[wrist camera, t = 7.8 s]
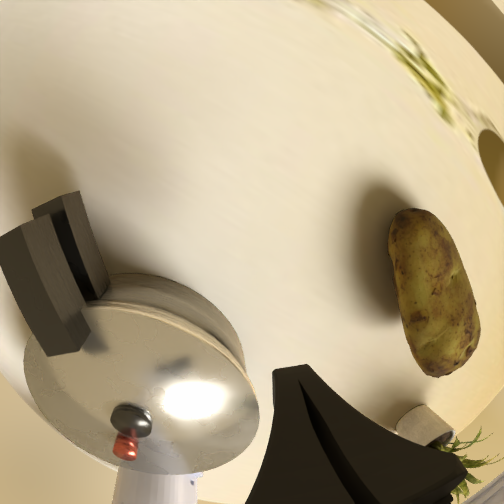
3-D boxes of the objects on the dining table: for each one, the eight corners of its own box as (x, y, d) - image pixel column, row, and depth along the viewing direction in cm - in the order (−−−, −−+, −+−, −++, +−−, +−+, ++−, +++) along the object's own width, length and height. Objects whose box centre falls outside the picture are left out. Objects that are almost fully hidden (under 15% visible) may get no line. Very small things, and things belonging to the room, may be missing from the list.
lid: (280, 450, 19) (286, 475, 17) (106, 469, 19) (102, 490, 16) (175, 161, 12) (164, 161, 10) (-37, 263, 12) (-60, 277, 9)
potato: (449, 199, 20) (520, 220, 13) (432, 328, 24) (480, 372, 17) (373, 204, 19) (447, 231, 12) (363, 349, 23) (406, 409, 16)
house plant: (472, 376, 29) (534, 443, 13) (420, 441, 32) (463, 509, 17) (417, 374, 26) (496, 475, 10) (355, 450, 29) (398, 544, 14)
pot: (264, 407, 24) (273, 448, 19) (114, 428, 23) (104, 464, 19) (187, 154, 17) (176, 151, 12) (4, 228, 16) (-35, 246, 12)
